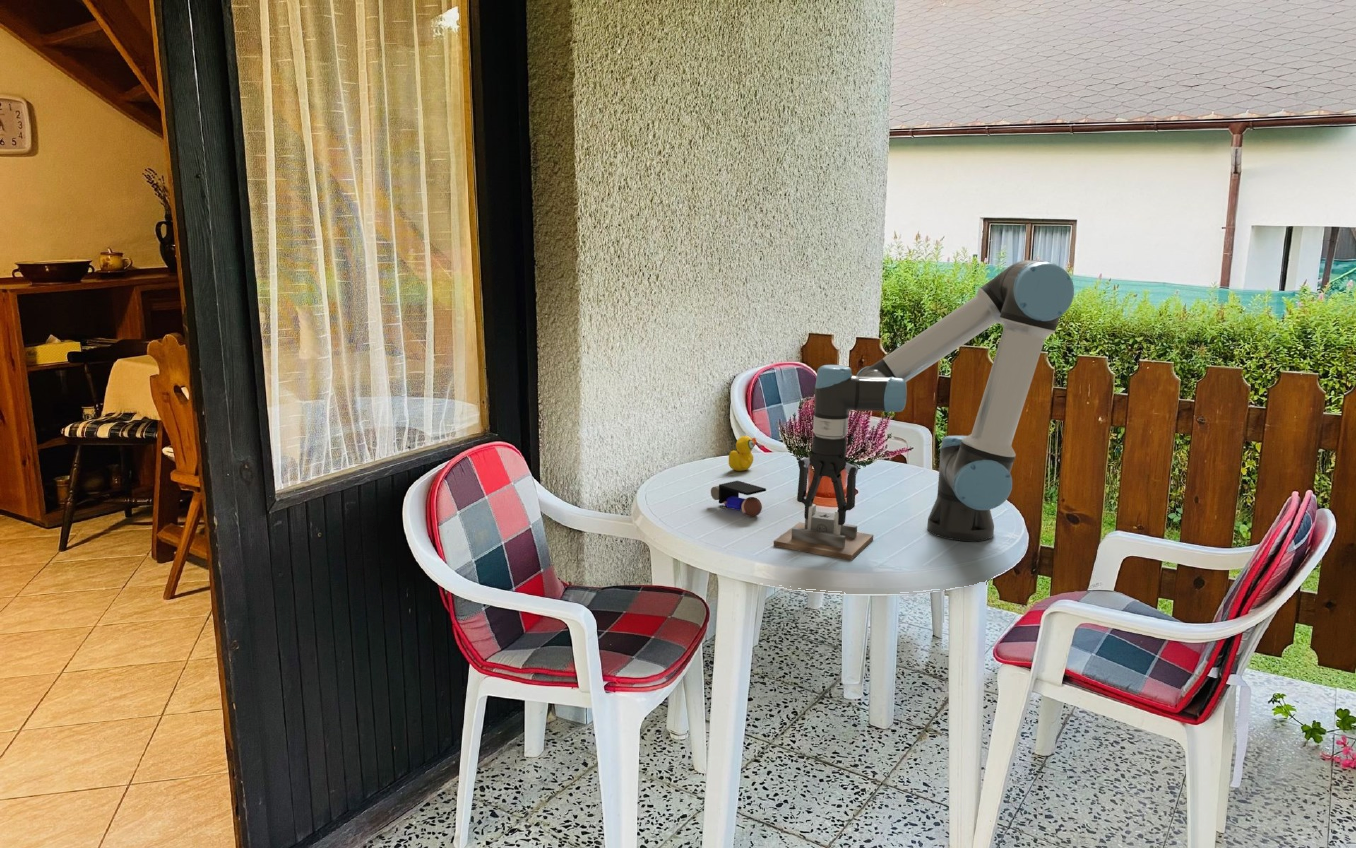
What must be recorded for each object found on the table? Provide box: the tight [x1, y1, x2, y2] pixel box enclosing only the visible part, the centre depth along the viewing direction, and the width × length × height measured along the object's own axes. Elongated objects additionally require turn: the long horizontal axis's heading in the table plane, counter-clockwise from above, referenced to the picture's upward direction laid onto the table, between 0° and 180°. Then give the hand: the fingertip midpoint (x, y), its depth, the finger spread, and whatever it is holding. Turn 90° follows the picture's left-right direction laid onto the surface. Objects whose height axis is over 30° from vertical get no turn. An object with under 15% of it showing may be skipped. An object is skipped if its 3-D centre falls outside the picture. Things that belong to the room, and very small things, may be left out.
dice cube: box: [811, 510, 835, 534], centre depth 211 cm, size 5×5×5 cm
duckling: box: [728, 435, 757, 472], centre depth 274 cm, size 11×5×10 cm, turn 139°
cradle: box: [773, 518, 874, 561], centre depth 212 cm, size 18×16×4 cm
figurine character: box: [710, 480, 767, 518], centre depth 234 cm, size 7×8×15 cm
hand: (823, 535), depth 212 cm, fingers closed on dice cube, 5 cm apart
